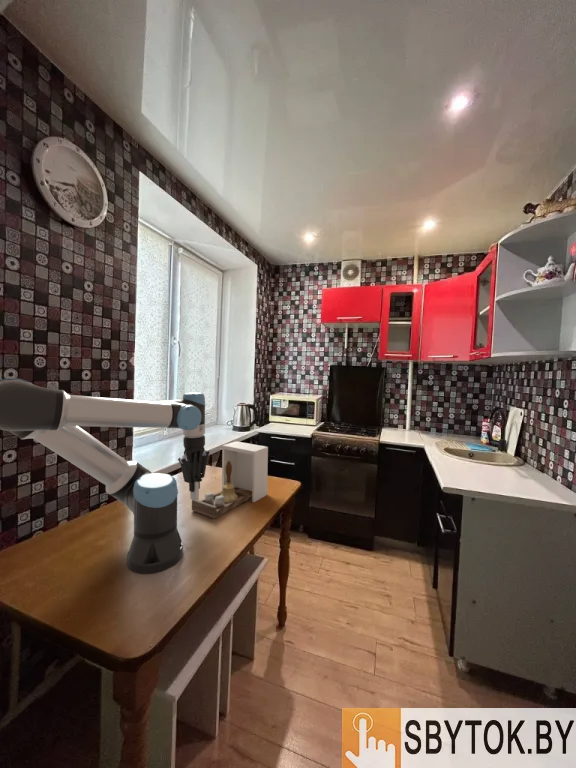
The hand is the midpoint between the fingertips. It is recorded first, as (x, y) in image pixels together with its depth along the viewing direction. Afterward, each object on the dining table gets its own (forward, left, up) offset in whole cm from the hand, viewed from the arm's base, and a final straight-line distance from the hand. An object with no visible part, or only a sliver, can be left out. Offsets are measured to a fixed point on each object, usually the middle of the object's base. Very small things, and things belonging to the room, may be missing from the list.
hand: (194, 499), depth 114 cm
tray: (+14, 0, -8) cm, 16 cm away
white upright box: (+19, 0, -8) cm, 21 cm away
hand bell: (+18, 0, -7) cm, 19 cm away
